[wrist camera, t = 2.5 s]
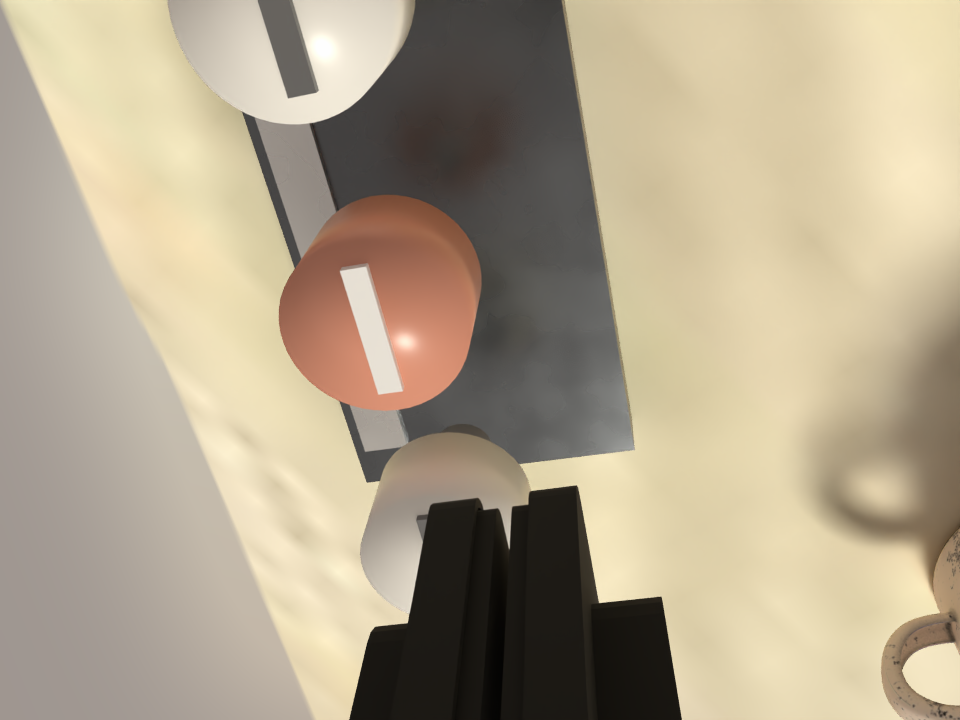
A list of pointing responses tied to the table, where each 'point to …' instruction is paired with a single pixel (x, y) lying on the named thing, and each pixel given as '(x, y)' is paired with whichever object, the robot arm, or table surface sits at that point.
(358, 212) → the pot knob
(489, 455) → the knob far
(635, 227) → the table surface
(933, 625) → the teacup with lid
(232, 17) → the knob near
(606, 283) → the mount plate
